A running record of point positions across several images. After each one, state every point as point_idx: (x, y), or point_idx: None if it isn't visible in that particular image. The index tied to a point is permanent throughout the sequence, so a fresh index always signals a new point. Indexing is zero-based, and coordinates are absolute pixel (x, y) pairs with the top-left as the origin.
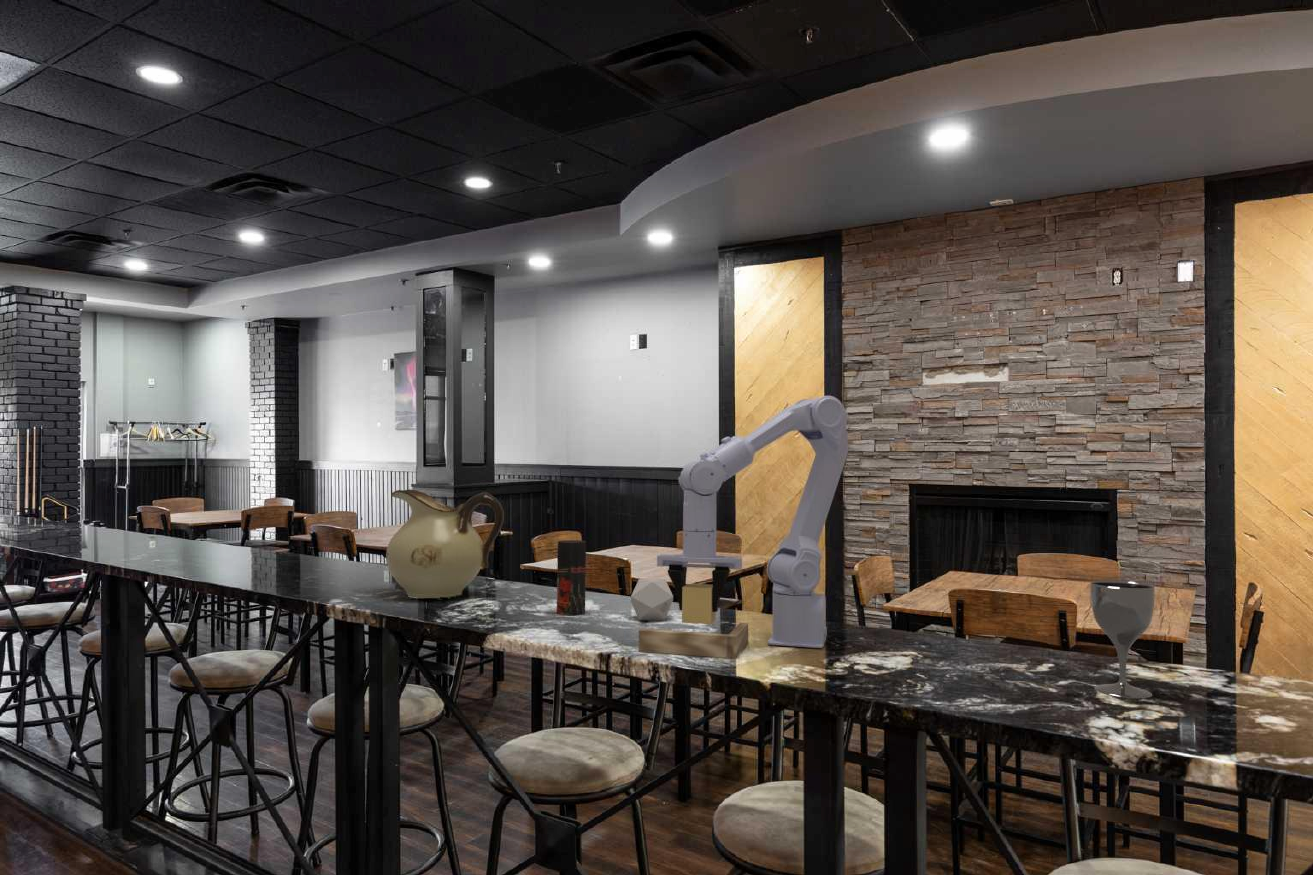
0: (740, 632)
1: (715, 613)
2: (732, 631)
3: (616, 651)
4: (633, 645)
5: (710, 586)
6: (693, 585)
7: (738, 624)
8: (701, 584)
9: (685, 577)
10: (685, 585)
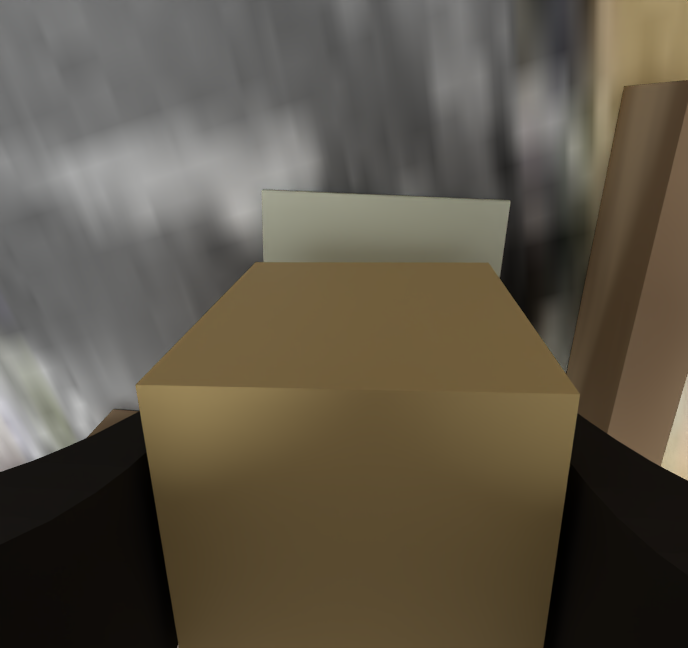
0: (666, 439)
1: (497, 277)
2: (612, 432)
3: (28, 460)
4: (38, 330)
5: (506, 579)
6: (269, 545)
7: (672, 170)
8: (351, 419)
9: (88, 553)
10: (176, 577)
